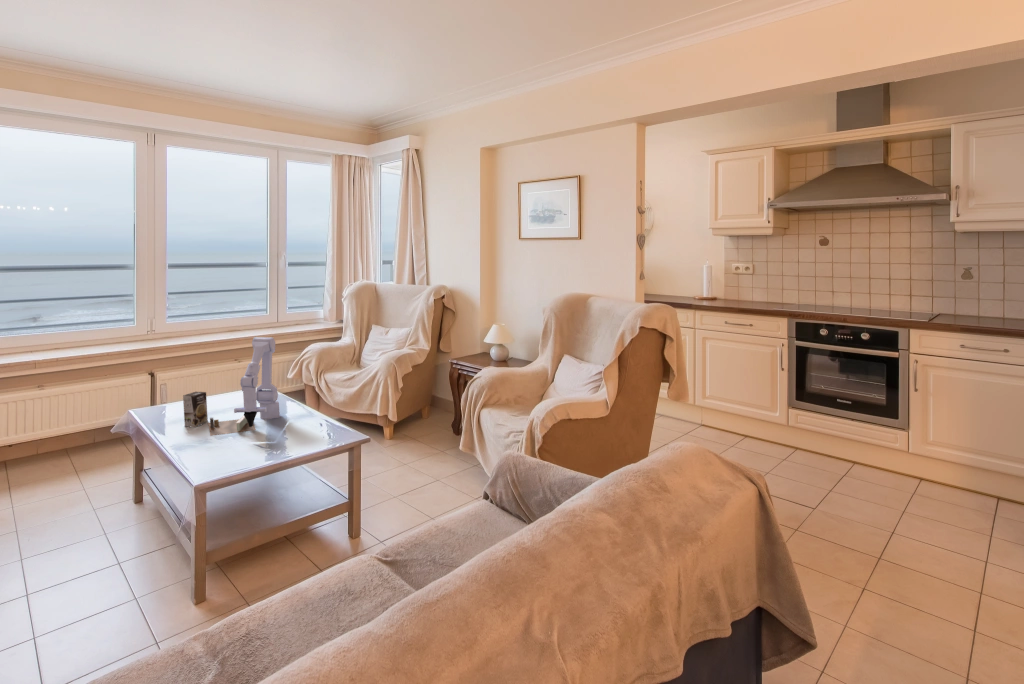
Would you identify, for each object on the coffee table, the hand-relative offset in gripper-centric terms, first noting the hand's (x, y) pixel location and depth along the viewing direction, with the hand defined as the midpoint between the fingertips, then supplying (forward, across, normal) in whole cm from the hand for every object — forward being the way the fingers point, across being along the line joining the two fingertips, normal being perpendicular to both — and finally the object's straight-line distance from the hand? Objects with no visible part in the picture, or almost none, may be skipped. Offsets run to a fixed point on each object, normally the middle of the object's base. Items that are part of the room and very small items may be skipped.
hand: (251, 426), depth 277 cm
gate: (+1, -5, +4) cm, 7 cm away
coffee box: (+3, -30, +13) cm, 33 cm away
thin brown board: (+2, -11, +6) cm, 12 cm away
